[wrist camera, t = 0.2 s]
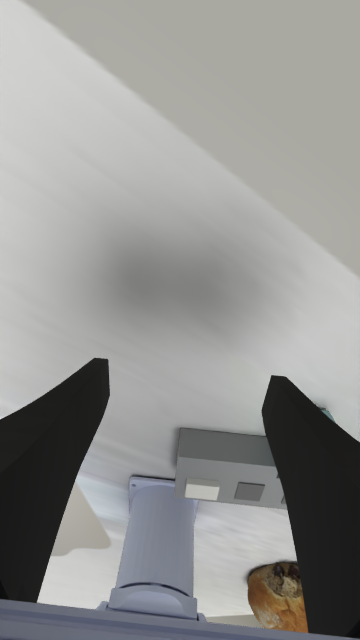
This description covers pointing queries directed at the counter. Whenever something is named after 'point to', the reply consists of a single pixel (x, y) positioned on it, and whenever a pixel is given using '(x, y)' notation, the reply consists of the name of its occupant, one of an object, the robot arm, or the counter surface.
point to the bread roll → (278, 597)
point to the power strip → (227, 469)
